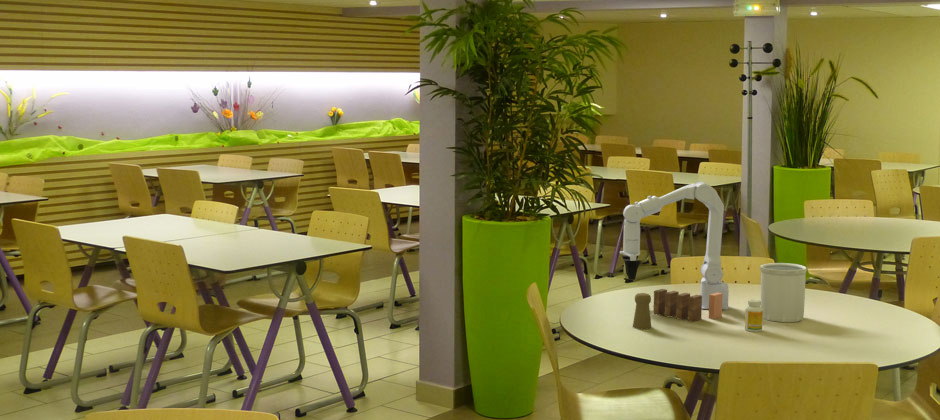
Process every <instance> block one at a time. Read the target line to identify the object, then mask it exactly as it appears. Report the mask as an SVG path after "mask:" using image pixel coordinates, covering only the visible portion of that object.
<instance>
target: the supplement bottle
mask: <svg viewBox="0 0 940 420" xmlns="http://www.w3.org/2000/svg"><path fill="white" fill-rule="evenodd" d="M744 310H745V315H744V330H745V331H747V332H752V333H759V332H762V331H763V308H762V307H761V299H756V298H755V299H754V298H753V299H748V300H747V306H746V307H745V309H744Z"/></svg>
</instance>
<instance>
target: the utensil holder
mask: <svg viewBox="0 0 940 420" xmlns="http://www.w3.org/2000/svg"><path fill="white" fill-rule="evenodd" d="M759 267H760V269H759V270H760V300H761V306H760V307H762V308H763V319H764V320H768V321H772V322H778V323H779V322H780V323H795V322H800V321H803V320H804V316H805V299H806V298H805V297H806V273H807V271H808V269H807V266H804V265H801V264H797V263H787V262H771V263H770V262H769V263H765V264H761V265H760V266H759Z"/></svg>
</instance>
